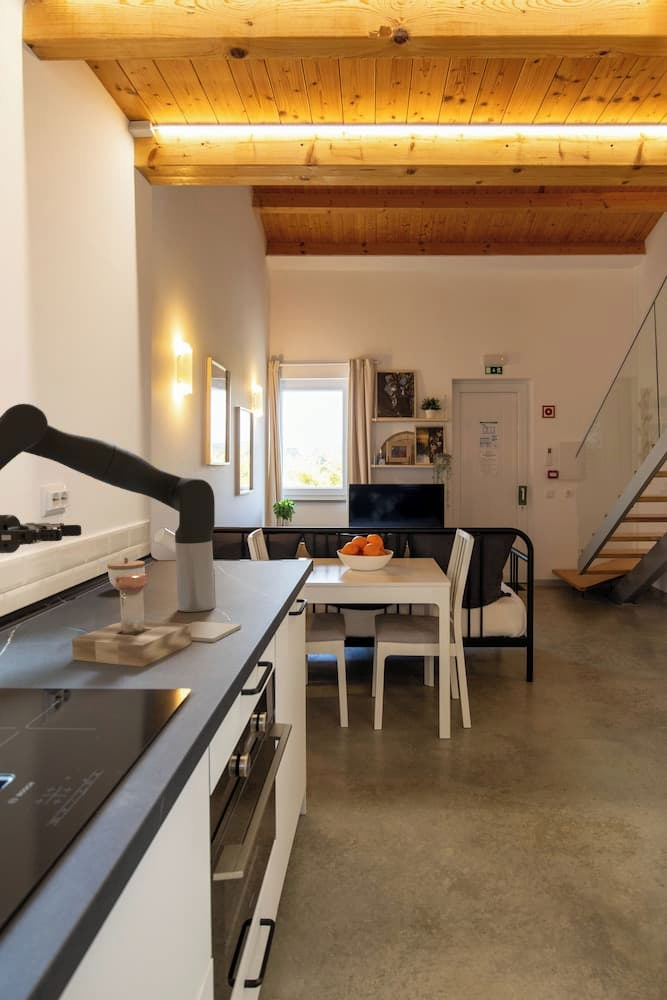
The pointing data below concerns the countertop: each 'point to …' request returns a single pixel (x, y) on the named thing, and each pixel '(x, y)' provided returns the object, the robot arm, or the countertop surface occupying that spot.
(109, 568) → the lidded jar
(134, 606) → the copper-capped metal cylinder
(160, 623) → the bore block
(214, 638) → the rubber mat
